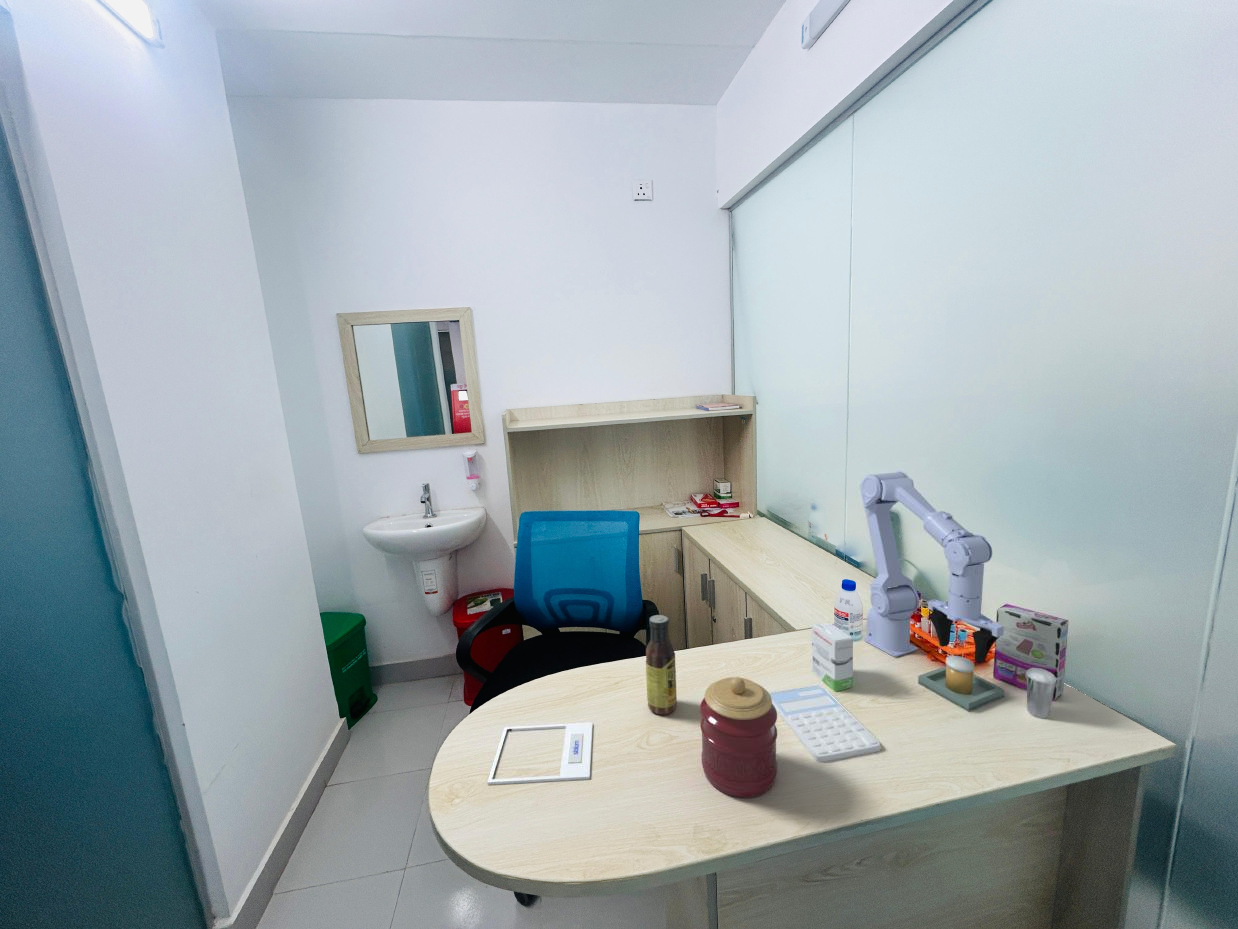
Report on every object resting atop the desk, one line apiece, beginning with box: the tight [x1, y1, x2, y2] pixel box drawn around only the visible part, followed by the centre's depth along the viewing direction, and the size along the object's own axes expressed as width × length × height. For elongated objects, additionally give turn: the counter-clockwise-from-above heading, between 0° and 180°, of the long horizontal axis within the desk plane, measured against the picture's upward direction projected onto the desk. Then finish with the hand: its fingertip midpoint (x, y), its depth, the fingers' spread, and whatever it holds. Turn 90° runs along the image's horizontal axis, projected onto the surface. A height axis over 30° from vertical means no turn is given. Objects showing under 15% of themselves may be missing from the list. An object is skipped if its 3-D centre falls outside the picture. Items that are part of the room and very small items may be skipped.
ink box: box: [811, 622, 854, 692], centre depth 114 cm, size 9×5×12 cm, turn 14°
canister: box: [699, 676, 778, 799], centre depth 88 cm, size 13×13×18 cm
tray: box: [917, 665, 1005, 712], centre depth 108 cm, size 11×11×2 cm
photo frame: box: [487, 721, 593, 786], centre depth 96 cm, size 15×1×18 cm
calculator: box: [768, 684, 882, 763], centre depth 101 cm, size 13×20×2 cm, turn 11°
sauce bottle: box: [645, 614, 677, 716], centre depth 106 cm, size 7×6×20 cm
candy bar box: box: [992, 603, 1069, 702], centre depth 108 cm, size 11×5×16 cm, turn 33°
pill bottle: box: [945, 655, 975, 695], centre depth 108 cm, size 5×5×6 cm
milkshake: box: [1026, 668, 1063, 719], centre depth 99 cm, size 4×5×10 cm
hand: (961, 653), depth 107 cm, fingers open, 7 cm apart
